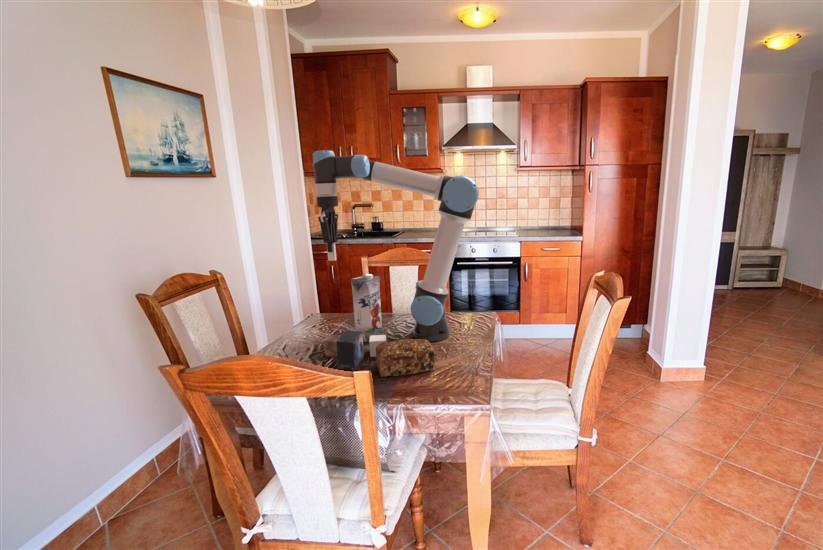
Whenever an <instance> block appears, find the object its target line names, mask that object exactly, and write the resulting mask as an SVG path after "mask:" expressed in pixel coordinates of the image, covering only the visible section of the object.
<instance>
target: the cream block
mask: <svg viewBox="0 0 823 550" xmlns="http://www.w3.org/2000/svg"><path fill="white" fill-rule="evenodd" d="M383 342H387V334H382V335H372V336H370V340H369V343H368V344H369V354H370V356H369V357H370V358H372V357H373V358H374V357H376V347H377V345H379V344H380V343H383Z"/></svg>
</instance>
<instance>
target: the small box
mask: <svg viewBox="0 0 823 550" xmlns="http://www.w3.org/2000/svg"><path fill="white" fill-rule="evenodd" d="M340 336H341V337H340V338H339V339H338V340H337V341H336V346H337V357H336V358H337V370H344V371H355V370H356V369H357V368H358V367H359V365H360V364H361V363H362V361H363V360H364V358H365V352H364V351H365V350H364V341H363V332H361V331H355V330H345V332H344V333H343V334H342V335H340Z"/></svg>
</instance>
